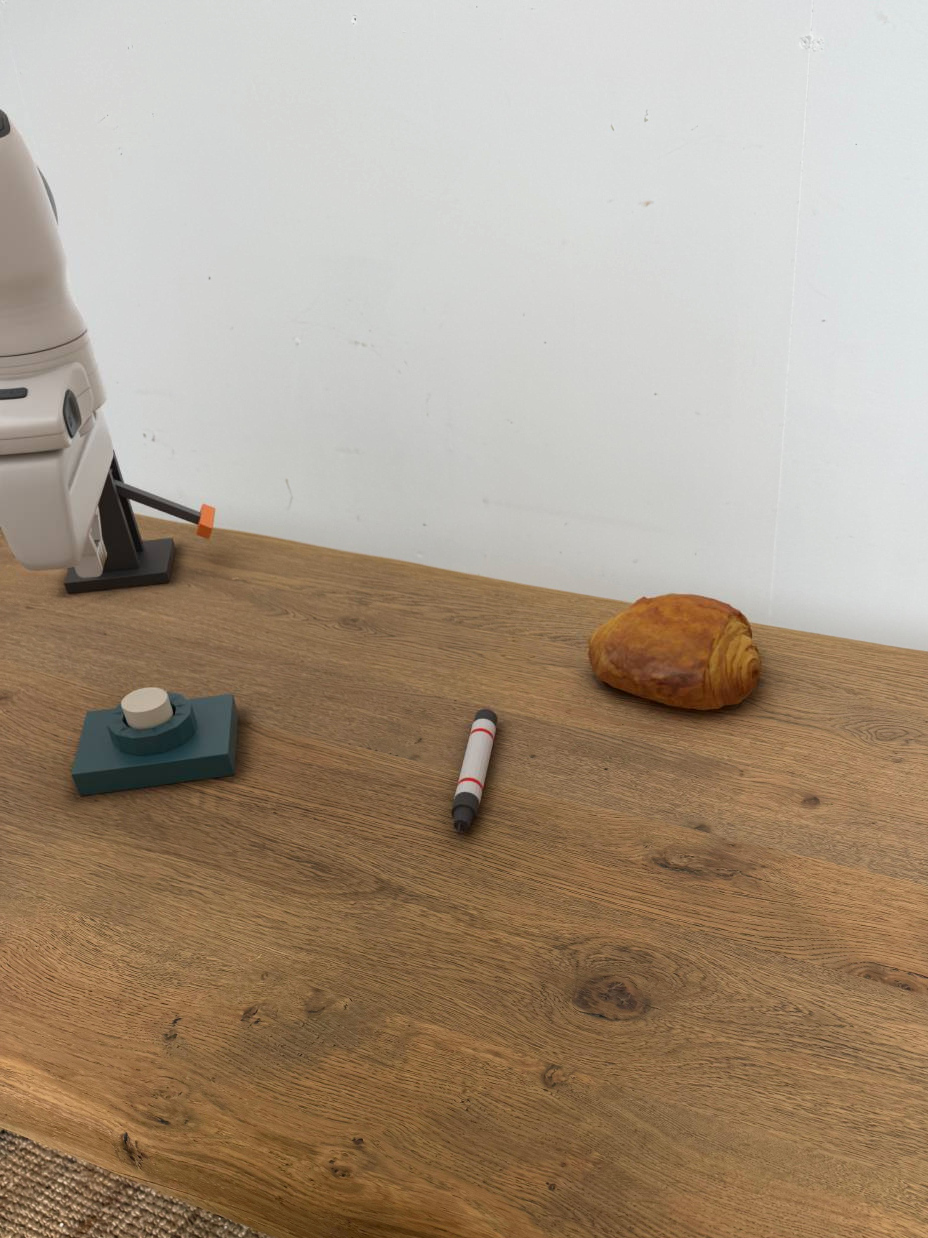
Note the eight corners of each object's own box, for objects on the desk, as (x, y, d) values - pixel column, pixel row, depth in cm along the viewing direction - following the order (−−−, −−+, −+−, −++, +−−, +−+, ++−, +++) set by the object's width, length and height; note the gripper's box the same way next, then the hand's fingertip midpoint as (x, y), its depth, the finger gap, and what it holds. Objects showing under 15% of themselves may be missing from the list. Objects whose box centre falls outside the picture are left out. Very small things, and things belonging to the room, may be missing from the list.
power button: (124, 732, 94) (118, 714, 93) (129, 708, 97) (123, 690, 96) (171, 726, 95) (165, 708, 93) (175, 702, 97) (169, 684, 96)
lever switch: (210, 523, 124) (217, 503, 123) (207, 544, 121) (214, 524, 119) (78, 473, 118) (84, 452, 117) (71, 493, 115) (77, 472, 113)
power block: (79, 796, 94) (63, 755, 91) (94, 732, 100) (79, 693, 98) (234, 775, 96) (222, 735, 93) (238, 714, 102) (227, 675, 100)
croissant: (713, 757, 100) (727, 683, 94) (561, 685, 105) (566, 610, 99) (788, 673, 109) (805, 601, 103) (645, 611, 114) (654, 538, 108)
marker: (475, 727, 100) (473, 708, 99) (498, 728, 100) (496, 708, 99) (447, 844, 88) (444, 824, 87) (473, 845, 88) (470, 824, 87)
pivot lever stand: (175, 547, 127) (144, 440, 119) (169, 582, 121) (136, 471, 113) (78, 558, 125) (40, 450, 118) (67, 593, 119) (26, 482, 112)
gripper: (10, 334, 86) (70, 512, 95) (-54, 441, 71) (24, 641, 80) (100, 328, 87) (151, 505, 96) (57, 433, 72) (122, 631, 81)
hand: (93, 568), depth 88 cm, fingers closed
